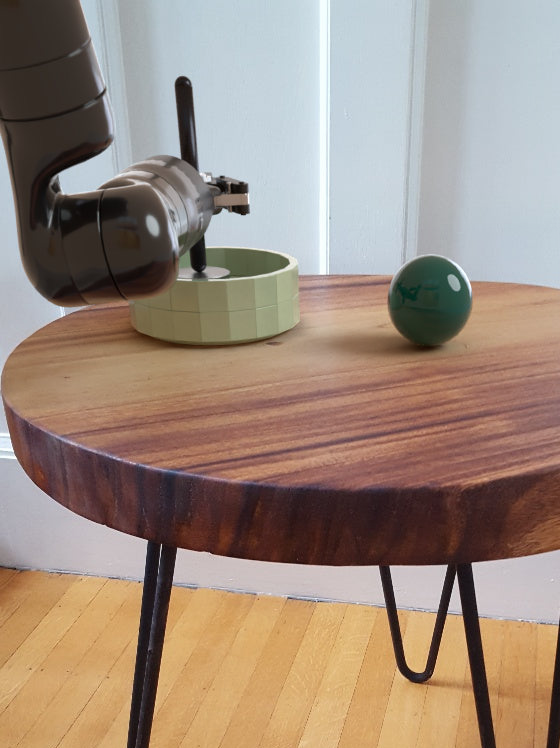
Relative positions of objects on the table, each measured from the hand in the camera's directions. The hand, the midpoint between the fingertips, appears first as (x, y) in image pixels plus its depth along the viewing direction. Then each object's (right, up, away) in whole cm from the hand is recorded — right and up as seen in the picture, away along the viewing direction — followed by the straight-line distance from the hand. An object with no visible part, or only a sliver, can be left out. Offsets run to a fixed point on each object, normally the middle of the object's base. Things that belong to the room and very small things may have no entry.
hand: (197, 184), depth 93 cm
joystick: (0, -10, +3) cm, 11 cm away
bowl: (+1, -13, +3) cm, 13 cm away
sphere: (+22, -17, -2) cm, 28 cm away
